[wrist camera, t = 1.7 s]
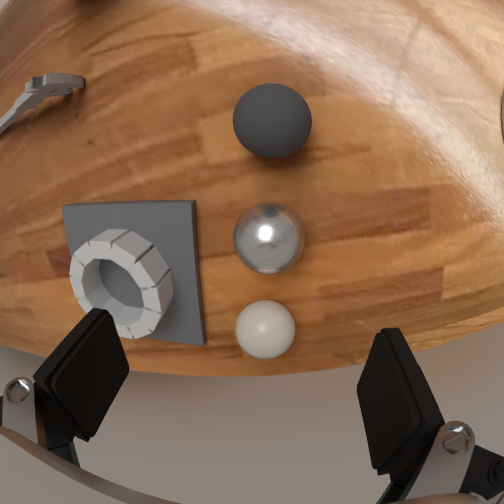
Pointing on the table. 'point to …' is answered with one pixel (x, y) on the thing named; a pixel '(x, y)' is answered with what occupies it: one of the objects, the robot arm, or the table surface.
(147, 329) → the housing
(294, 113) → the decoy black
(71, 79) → the caliper
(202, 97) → the table surface
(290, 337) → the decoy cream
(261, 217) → the steel ball
